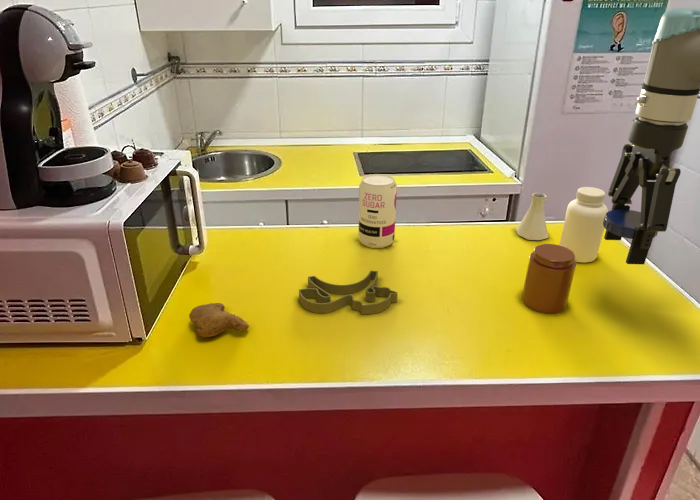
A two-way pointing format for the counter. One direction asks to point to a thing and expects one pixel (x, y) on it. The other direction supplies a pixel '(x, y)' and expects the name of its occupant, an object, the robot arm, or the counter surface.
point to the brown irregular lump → (215, 320)
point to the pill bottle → (584, 224)
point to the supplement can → (377, 210)
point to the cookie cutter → (325, 305)
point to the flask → (534, 220)
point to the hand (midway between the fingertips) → (623, 250)
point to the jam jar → (549, 278)
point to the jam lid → (622, 222)
